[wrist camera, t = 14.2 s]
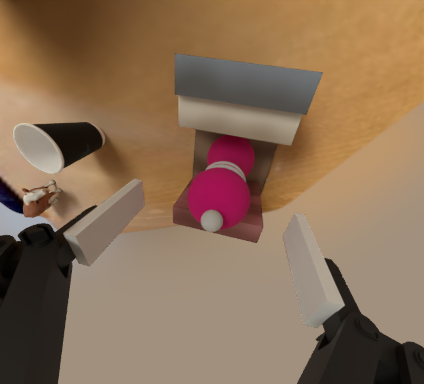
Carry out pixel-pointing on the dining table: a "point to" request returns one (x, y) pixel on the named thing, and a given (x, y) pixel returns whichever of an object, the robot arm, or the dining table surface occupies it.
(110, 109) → the dining table surface
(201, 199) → the pepper mill
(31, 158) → the dixie cup
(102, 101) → the dining table surface
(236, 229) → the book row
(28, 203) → the bull figurine
